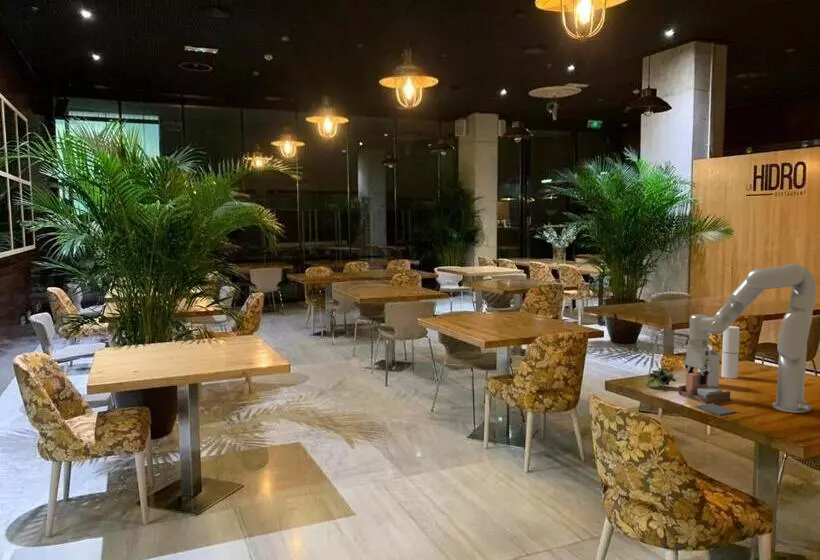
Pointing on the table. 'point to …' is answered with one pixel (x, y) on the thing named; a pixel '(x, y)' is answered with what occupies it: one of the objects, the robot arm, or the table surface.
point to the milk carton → (714, 374)
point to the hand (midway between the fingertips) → (696, 382)
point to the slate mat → (715, 409)
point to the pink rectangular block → (694, 381)
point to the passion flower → (660, 377)
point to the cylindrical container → (730, 352)
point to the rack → (709, 397)
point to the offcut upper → (707, 391)
